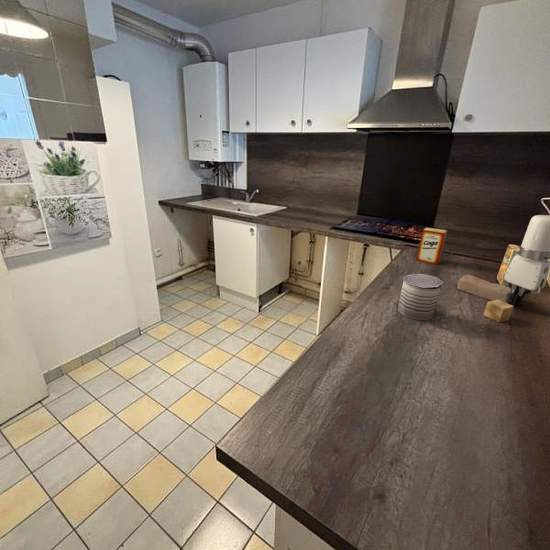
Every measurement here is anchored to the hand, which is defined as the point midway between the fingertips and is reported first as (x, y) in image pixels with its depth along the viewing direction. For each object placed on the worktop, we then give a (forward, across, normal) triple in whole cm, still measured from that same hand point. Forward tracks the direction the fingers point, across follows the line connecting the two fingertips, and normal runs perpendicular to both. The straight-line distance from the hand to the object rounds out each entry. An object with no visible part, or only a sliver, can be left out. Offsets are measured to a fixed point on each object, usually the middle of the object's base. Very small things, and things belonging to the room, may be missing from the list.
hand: (514, 303), depth 102 cm
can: (+1, +10, +36) cm, 37 cm away
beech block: (+1, -3, +13) cm, 14 cm away
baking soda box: (+1, +46, -11) cm, 47 cm away
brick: (+1, +11, 0) cm, 11 cm away
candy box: (+1, +15, -19) cm, 24 cm away
